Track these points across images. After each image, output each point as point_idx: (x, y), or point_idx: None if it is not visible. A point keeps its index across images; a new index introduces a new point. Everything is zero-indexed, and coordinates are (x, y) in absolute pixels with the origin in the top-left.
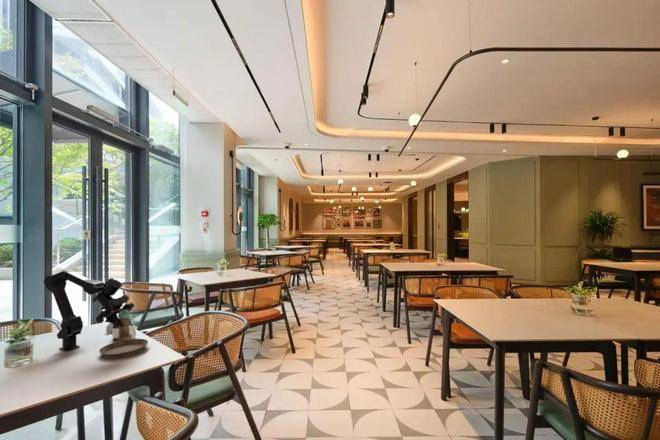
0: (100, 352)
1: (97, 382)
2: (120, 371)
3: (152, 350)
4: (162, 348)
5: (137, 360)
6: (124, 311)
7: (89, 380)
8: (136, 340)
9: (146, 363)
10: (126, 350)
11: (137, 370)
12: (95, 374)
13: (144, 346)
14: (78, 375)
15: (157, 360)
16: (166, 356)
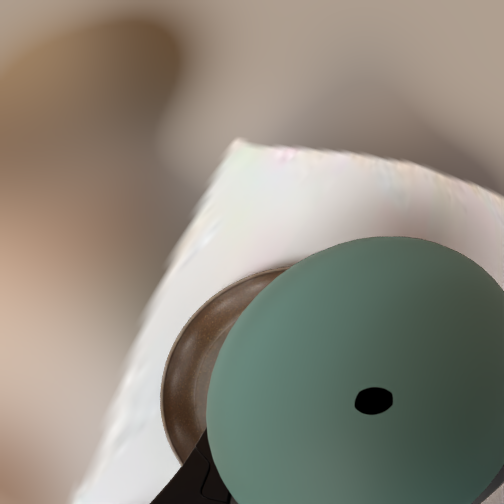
0: None
1: (464, 185)
2: (411, 191)
3: (222, 271)
4: (186, 252)
5: (335, 222)
6: (461, 255)
7: (479, 213)
8: (178, 442)
9: (330, 174)
10: None
11: (373, 158)
12: (468, 238)
13: (246, 282)
14: (500, 279)
15: (293, 166)
16: (252, 170)
